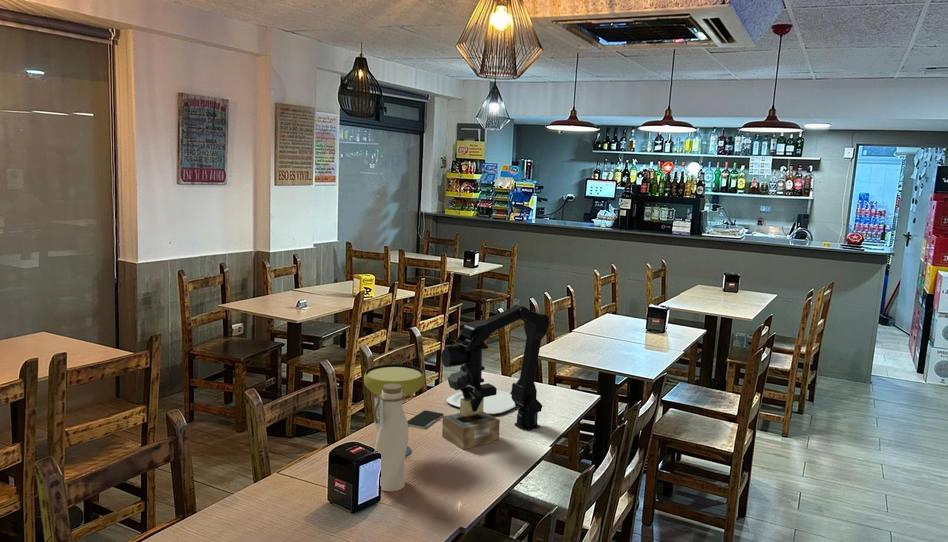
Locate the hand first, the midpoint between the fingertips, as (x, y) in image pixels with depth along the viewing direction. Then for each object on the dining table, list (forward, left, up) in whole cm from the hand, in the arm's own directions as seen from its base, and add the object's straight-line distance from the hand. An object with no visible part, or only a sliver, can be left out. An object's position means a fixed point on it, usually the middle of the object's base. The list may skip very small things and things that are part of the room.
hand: (471, 410), depth 217 cm
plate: (-25, -26, -10) cm, 37 cm away
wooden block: (0, 0, -1) cm, 1 cm away
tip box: (0, 0, -10) cm, 10 cm away
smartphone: (+4, -22, -10) cm, 25 cm away
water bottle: (+38, +16, -10) cm, 42 cm away
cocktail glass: (+26, -4, -10) cm, 28 cm away
